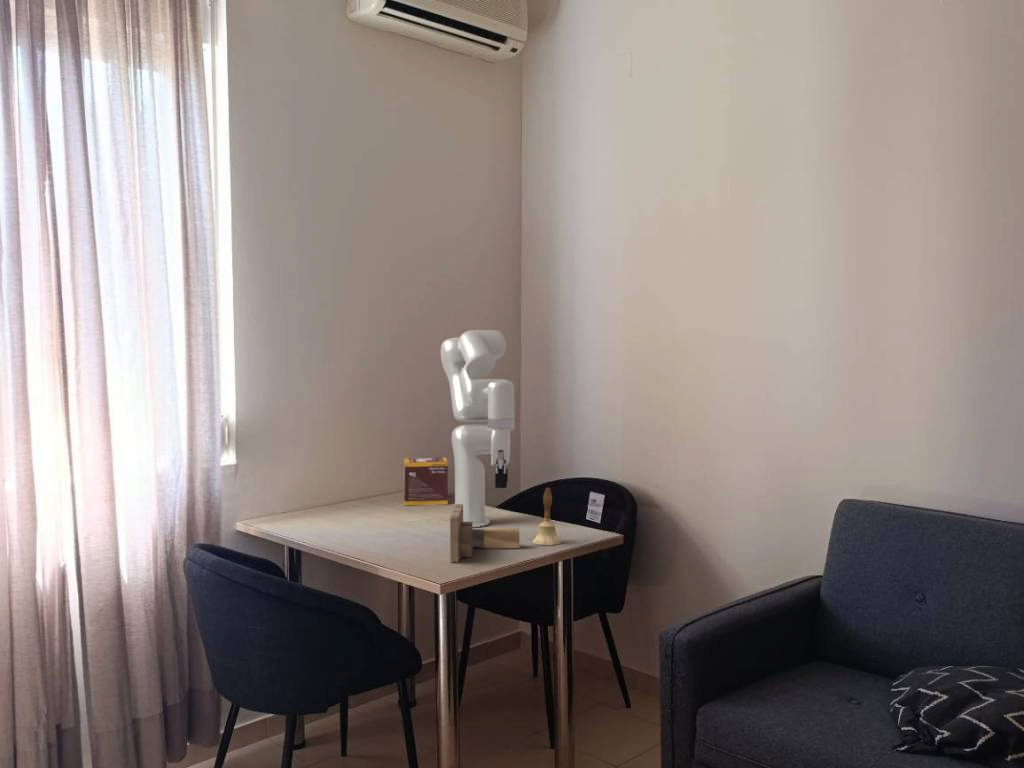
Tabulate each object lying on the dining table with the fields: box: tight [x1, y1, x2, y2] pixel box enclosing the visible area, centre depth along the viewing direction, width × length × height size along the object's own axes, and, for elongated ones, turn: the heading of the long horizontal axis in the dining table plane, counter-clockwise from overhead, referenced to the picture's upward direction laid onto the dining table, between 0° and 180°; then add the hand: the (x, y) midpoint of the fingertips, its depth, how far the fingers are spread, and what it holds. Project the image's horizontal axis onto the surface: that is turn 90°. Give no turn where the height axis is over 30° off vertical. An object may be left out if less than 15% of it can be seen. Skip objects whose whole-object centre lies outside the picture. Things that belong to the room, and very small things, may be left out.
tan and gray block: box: [473, 528, 520, 549], centre depth 267 cm, size 4×14×5 cm, turn 89°
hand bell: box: [532, 487, 562, 547], centre depth 272 cm, size 8×8×16 cm
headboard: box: [449, 504, 474, 563], centre depth 259 cm, size 20×5×12 cm, turn 179°
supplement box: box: [403, 456, 449, 506], centre depth 335 cm, size 10×15×16 cm
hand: (501, 485), depth 265 cm, fingers open, 9 cm apart
